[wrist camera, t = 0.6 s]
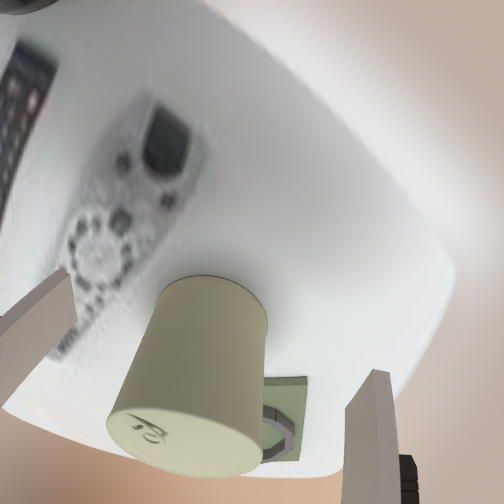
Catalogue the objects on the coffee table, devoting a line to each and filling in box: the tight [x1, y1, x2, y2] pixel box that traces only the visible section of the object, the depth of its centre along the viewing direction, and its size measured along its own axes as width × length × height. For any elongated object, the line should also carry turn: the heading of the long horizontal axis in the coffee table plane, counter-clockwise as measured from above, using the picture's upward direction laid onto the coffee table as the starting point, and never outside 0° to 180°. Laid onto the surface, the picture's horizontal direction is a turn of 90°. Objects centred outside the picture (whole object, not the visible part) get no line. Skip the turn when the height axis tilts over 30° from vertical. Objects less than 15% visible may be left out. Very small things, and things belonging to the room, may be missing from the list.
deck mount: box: [260, 377, 307, 464], centre depth 32 cm, size 18×16×2 cm
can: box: [106, 276, 268, 478], centre depth 20 cm, size 9×9×12 cm
